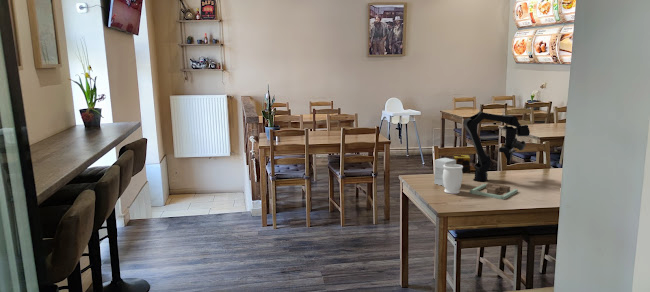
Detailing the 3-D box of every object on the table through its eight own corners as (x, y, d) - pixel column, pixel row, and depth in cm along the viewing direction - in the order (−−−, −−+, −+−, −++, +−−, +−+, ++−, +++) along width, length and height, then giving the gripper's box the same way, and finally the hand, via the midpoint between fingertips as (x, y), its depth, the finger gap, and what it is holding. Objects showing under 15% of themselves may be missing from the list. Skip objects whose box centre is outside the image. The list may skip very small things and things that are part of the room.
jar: (462, 190, 269) (463, 164, 266) (461, 195, 259) (462, 168, 256) (443, 188, 272) (443, 163, 269) (441, 193, 262) (442, 167, 260)
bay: (469, 193, 263) (469, 190, 262) (484, 186, 276) (484, 183, 276) (503, 199, 250) (503, 196, 250) (517, 192, 264) (517, 189, 264)
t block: (489, 188, 273) (489, 183, 272) (510, 191, 265) (510, 186, 264) (479, 192, 264) (480, 187, 263) (501, 196, 256) (501, 191, 255)
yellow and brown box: (470, 173, 308) (470, 158, 306) (453, 172, 310) (454, 157, 308) (468, 169, 317) (469, 155, 316) (453, 169, 320) (453, 154, 318)
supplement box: (443, 181, 288) (444, 157, 285) (455, 184, 280) (456, 159, 278) (433, 184, 282) (434, 159, 280) (445, 187, 275) (446, 161, 273)
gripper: (518, 140, 273) (516, 166, 276) (530, 135, 287) (528, 161, 290) (499, 138, 281) (497, 164, 283) (511, 134, 294) (509, 158, 297)
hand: (509, 162), depth 288 cm, fingers closed
